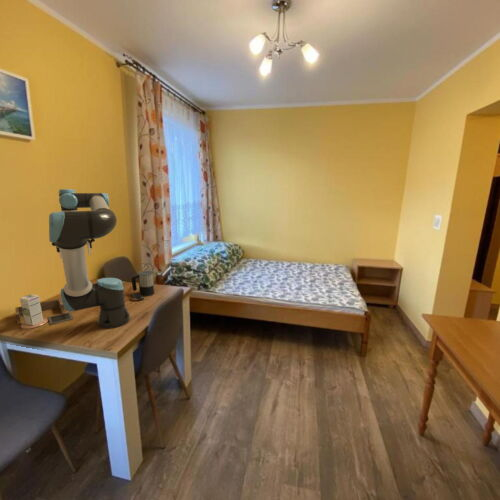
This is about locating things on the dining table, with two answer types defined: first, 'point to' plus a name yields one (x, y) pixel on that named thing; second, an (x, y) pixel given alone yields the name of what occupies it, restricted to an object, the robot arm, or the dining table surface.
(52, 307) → the walnut bay
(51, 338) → the dining table surface
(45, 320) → the terracotta coaster
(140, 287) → the milk frother
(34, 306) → the syrup box
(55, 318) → the drain grate
